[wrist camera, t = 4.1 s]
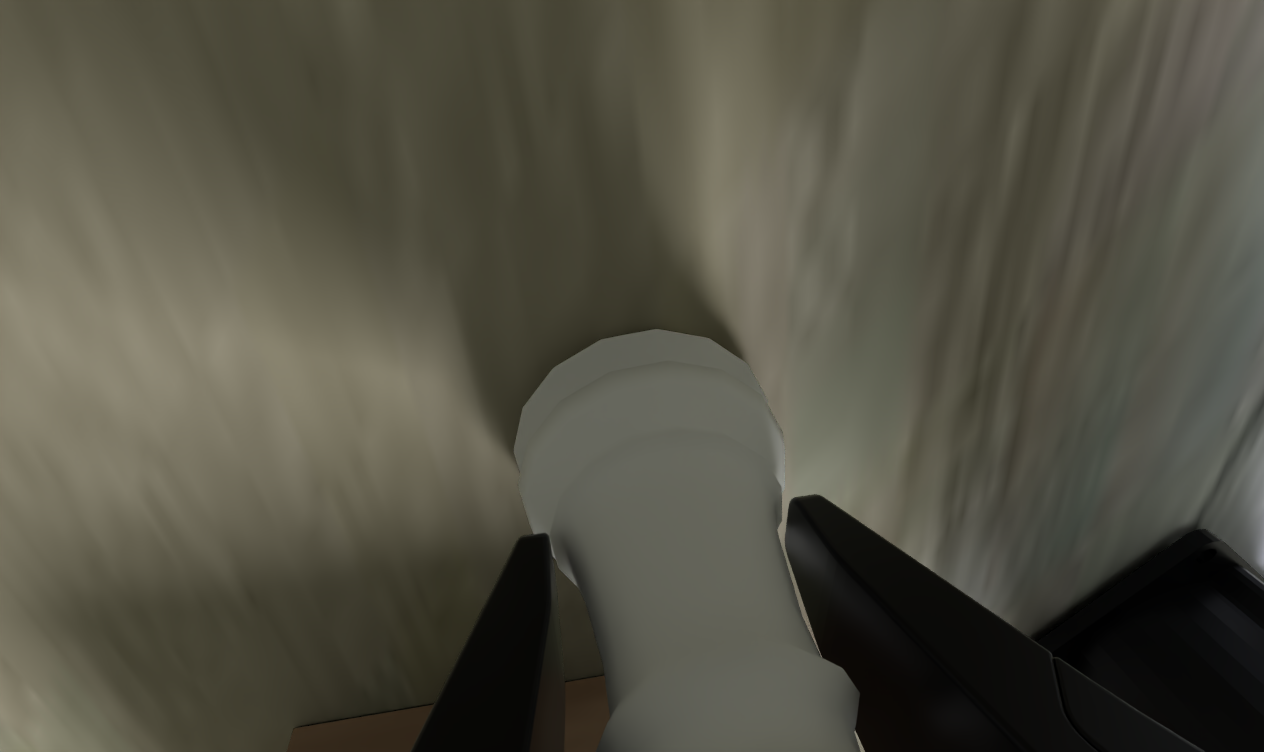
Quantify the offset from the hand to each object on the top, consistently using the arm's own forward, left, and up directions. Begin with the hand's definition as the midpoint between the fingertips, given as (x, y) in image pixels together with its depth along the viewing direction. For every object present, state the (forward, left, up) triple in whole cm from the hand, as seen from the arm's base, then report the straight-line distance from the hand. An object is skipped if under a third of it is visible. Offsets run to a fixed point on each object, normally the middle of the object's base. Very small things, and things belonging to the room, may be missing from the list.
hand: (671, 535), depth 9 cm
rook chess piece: (0, 0, -3) cm, 3 cm away
